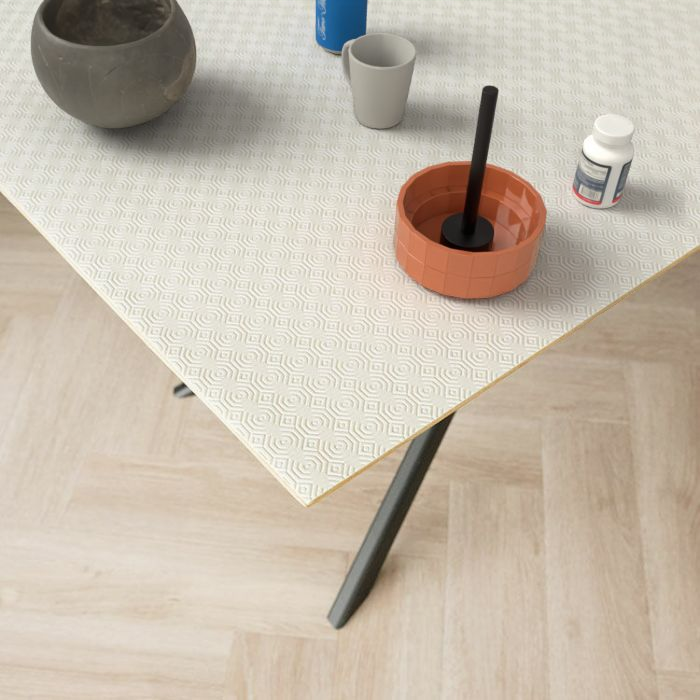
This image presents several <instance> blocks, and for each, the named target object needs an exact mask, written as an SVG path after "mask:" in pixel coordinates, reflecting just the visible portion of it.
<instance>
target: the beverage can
mask: <svg viewBox="0 0 700 700" xmlns="http://www.w3.org/2000/svg"><path fill="white" fill-rule="evenodd" d="M368 2H369V1H368V0H315V41H316V43H317V44H318V46H319V47H321V48H322V49H324V50H325V51H327V52H329V53H331V54H336V55H342V49H343V46H344V44H345V43H346V42H348V41H350V40H352V39H357V38H359V37H361V36H364V35H367V24H368V23H367V22H368Z"/></svg>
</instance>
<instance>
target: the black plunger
mask: <svg viewBox="0 0 700 700" xmlns="http://www.w3.org/2000/svg"><path fill="white" fill-rule="evenodd" d="M499 92H500V91H499V88H498V87H496V86H495V85H485V86H483V87H482V90H481V94H480V95H481V96H480V102H479V108H478V115H477V121H476V128H475V134H474V139H473V146H472V154H471V159H470V161H471V166H470V172H469V179H468V185H467V192H466V198H465V205H464V211H463V213H457V214H453V215H451V216H449V217H447V218H446V219H445V220H444V222H443V223H442V227H441V234H440V242H439V244H441V245H443V246H446V247H448V248H451V249H456V250H462V251H468V252H491V248H492V243H493V238H494V228H493V226H492V224H491V223H490V222H489V221H488V220H487V219H486V218H484V217H482V216H480V215H478V210H479V204H480V198H481V192H482V187H483V181H484V175H485V169H486V164H488V163H487V162H488V157H489V150H490V145H491V139H492V133H493V127H494V121H495V115H496V109H497V103H498V98H499Z"/></svg>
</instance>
